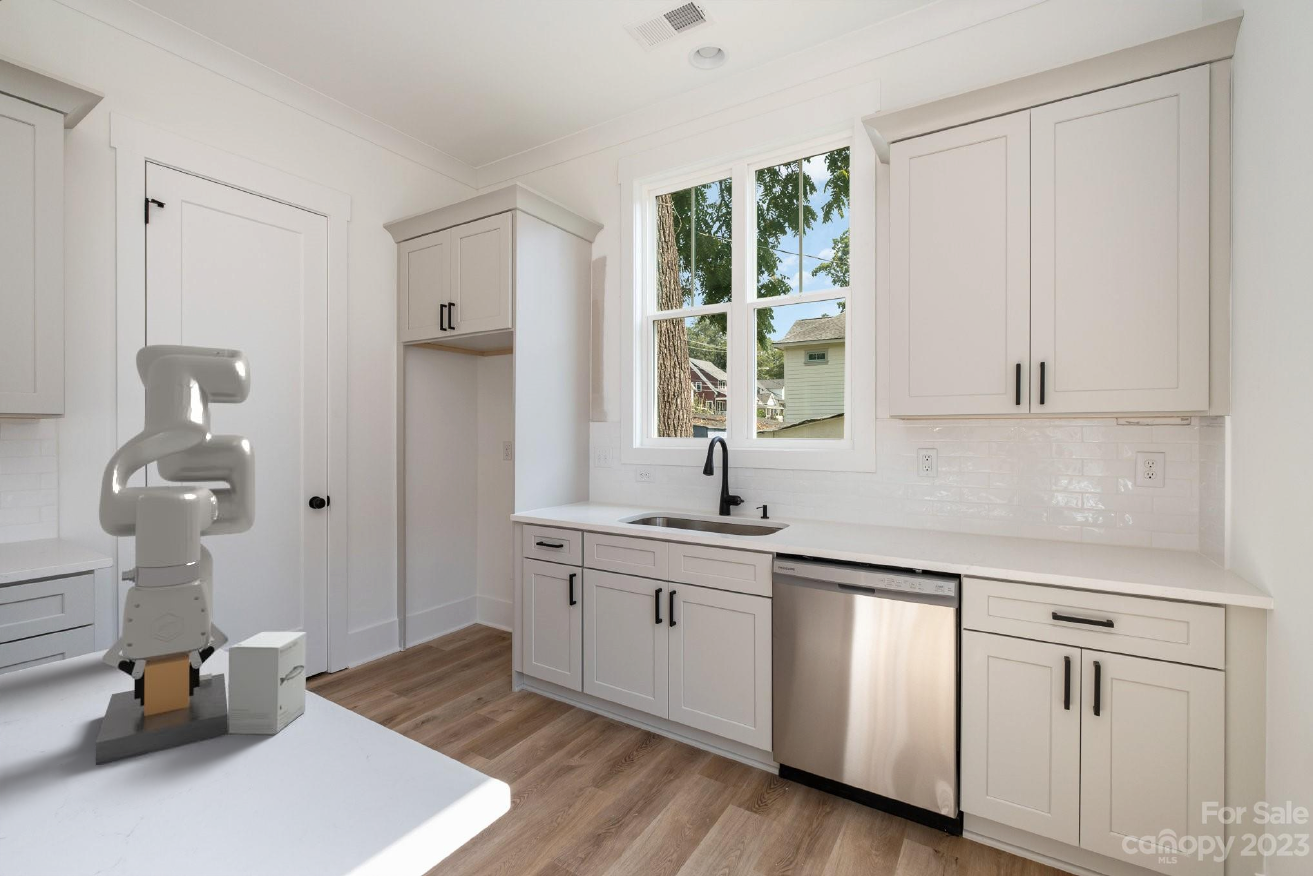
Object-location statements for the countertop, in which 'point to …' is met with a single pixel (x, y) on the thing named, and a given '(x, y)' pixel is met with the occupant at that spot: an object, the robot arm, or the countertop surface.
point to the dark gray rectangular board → (162, 723)
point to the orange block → (166, 683)
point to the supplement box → (266, 682)
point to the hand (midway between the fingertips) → (168, 696)
